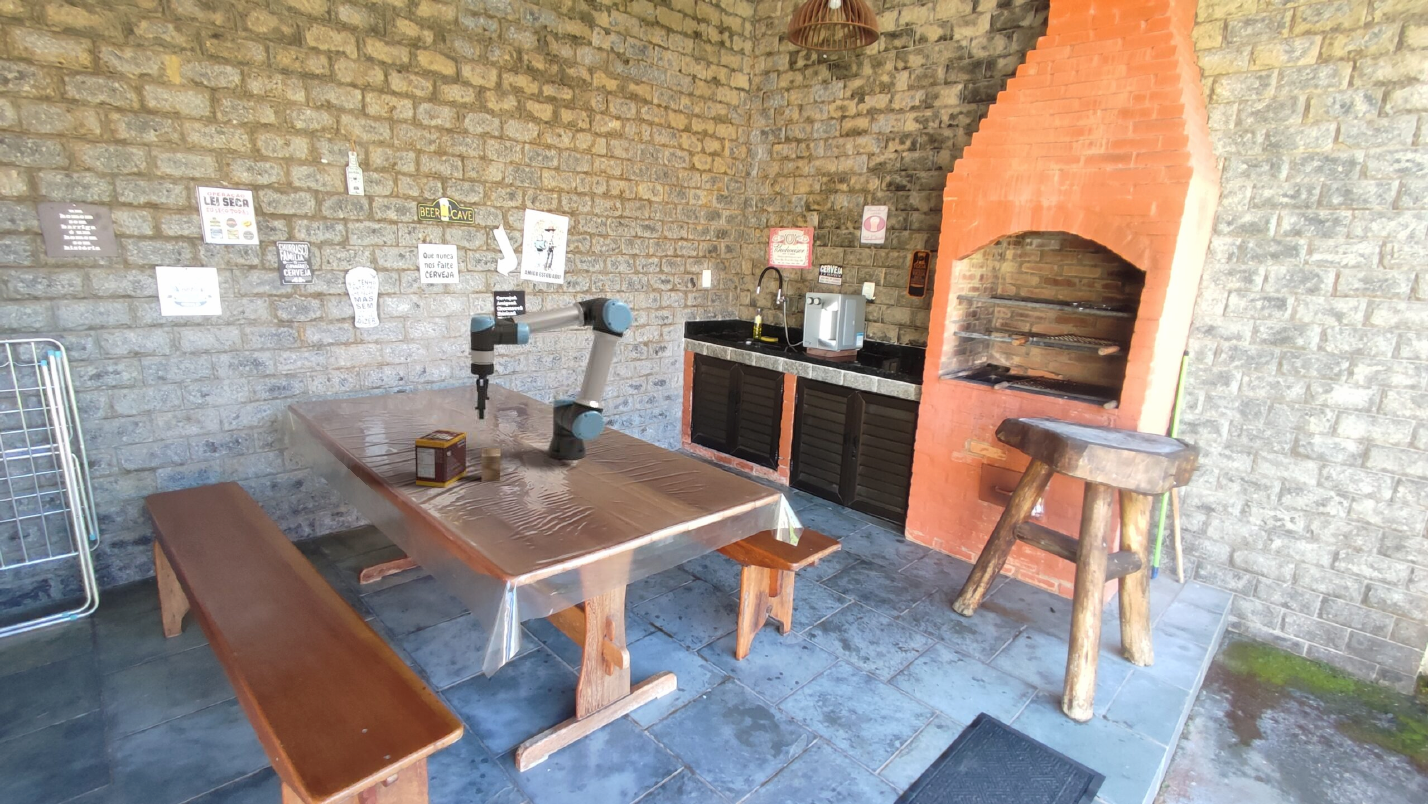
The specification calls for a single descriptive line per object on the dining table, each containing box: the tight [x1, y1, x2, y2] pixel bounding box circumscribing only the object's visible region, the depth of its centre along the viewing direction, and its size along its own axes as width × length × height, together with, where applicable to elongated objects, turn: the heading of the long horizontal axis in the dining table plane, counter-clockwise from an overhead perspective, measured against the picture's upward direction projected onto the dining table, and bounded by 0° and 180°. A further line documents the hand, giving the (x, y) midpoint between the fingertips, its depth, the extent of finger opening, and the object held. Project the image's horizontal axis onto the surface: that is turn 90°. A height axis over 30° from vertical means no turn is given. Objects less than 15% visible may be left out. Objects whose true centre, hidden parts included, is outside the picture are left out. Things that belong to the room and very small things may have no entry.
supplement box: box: [414, 429, 467, 489], centre depth 224 cm, size 10×15×16 cm
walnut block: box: [481, 448, 501, 483], centre depth 228 cm, size 6×6×10 cm
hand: (482, 423), depth 226 cm, fingers open, 13 cm apart
